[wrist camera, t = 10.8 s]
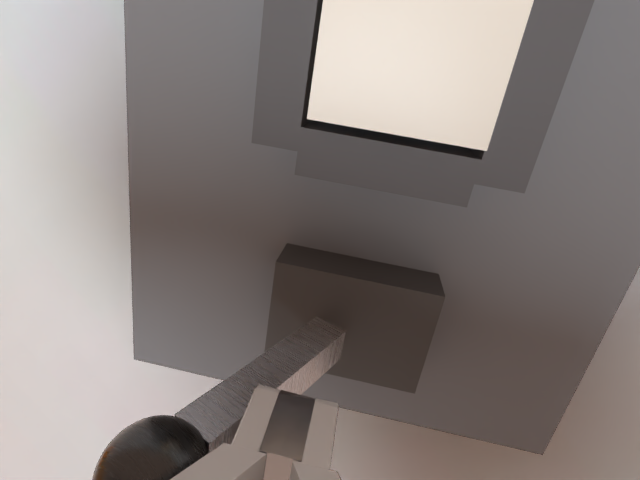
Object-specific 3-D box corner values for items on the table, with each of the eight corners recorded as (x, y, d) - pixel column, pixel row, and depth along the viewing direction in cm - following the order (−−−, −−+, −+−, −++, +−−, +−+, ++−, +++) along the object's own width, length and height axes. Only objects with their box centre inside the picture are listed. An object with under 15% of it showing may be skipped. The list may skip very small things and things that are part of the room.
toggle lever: (364, 324, 11) (135, 520, 6) (351, 381, 12) (138, 601, 6) (306, 294, 12) (62, 438, 7) (297, 349, 13) (72, 517, 7)
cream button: (512, -33, 9) (556, -73, 6) (464, 136, 10) (486, 151, 8) (348, -56, 9) (336, -102, 7) (323, 111, 10) (306, 119, 8)
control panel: (941, -554, 8) (1677, -1395, 3) (517, 396, 18) (564, 507, 13) (184, -585, 9) (-10, -1233, 5) (170, 318, 19) (101, 395, 14)
